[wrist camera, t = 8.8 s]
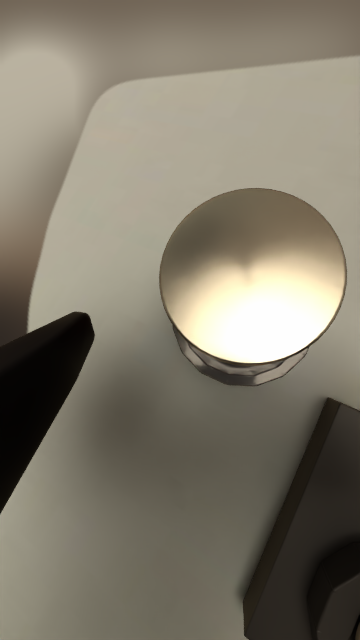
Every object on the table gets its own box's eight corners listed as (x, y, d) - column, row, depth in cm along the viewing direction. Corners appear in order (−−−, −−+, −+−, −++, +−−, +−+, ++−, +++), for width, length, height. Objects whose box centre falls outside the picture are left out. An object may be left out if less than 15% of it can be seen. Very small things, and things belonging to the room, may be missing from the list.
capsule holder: (272, 399, 16) (282, 411, 12) (167, 350, 17) (151, 349, 14) (318, 291, 16) (340, 274, 13) (210, 252, 18) (204, 228, 14)
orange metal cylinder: (261, 371, 16) (302, 399, 6) (191, 340, 17) (131, 321, 7) (291, 301, 16) (379, 217, 6) (220, 274, 17) (199, 166, 7)
